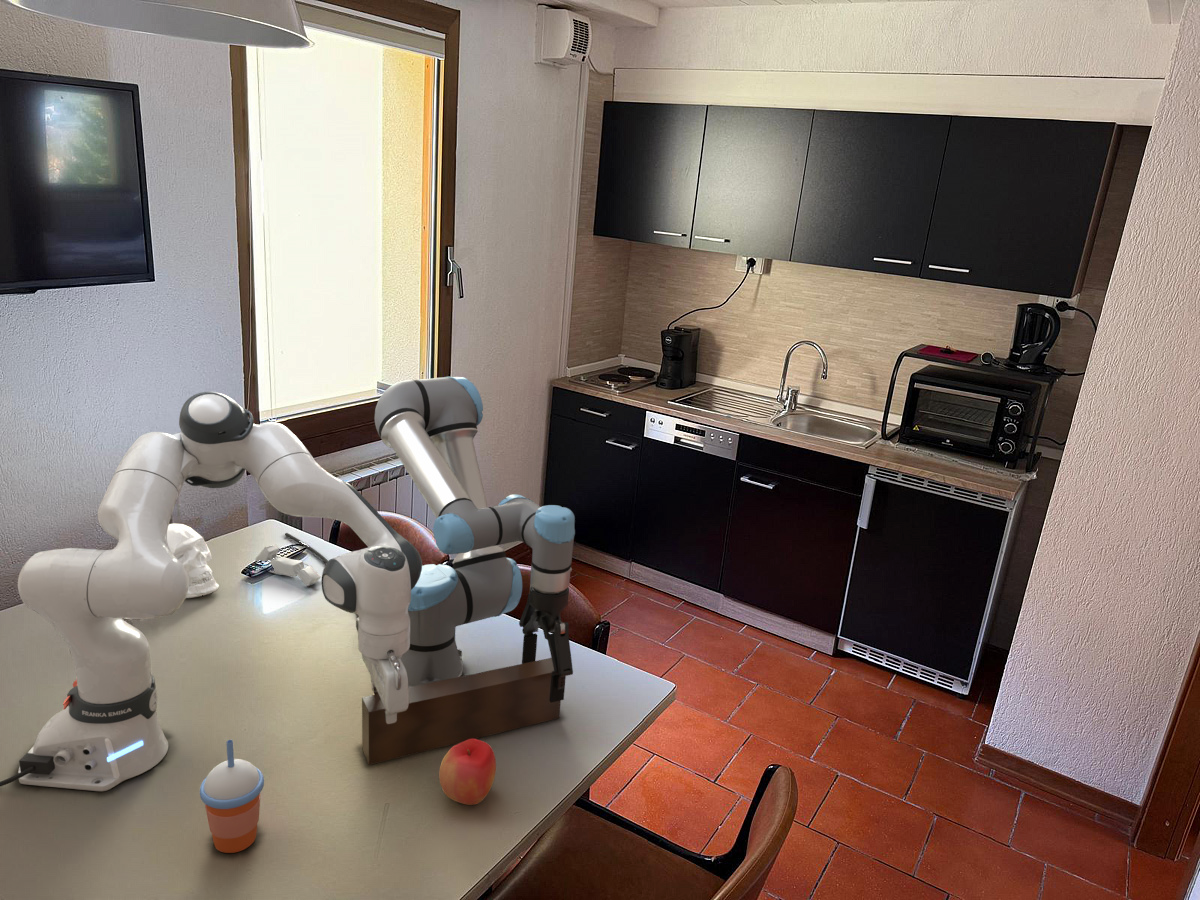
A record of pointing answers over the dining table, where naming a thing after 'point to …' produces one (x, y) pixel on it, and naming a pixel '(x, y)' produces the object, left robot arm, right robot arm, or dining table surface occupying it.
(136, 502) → the left robot arm
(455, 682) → the walnut beam
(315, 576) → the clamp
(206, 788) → the cup with straw
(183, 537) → the skull
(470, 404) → the right robot arm
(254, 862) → the dining table surface
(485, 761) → the apple
